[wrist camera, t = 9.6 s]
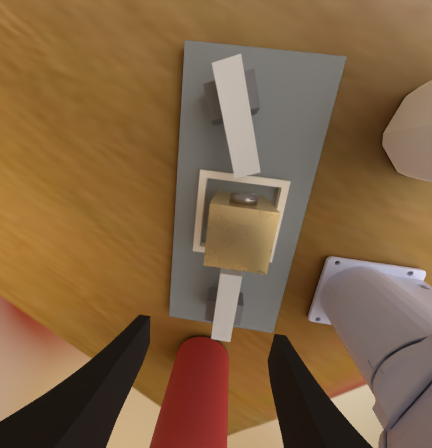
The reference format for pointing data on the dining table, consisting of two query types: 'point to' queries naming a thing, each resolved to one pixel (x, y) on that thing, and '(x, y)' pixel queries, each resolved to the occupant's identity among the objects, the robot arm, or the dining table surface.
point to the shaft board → (278, 157)
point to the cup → (412, 135)
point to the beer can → (195, 398)
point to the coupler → (240, 231)
